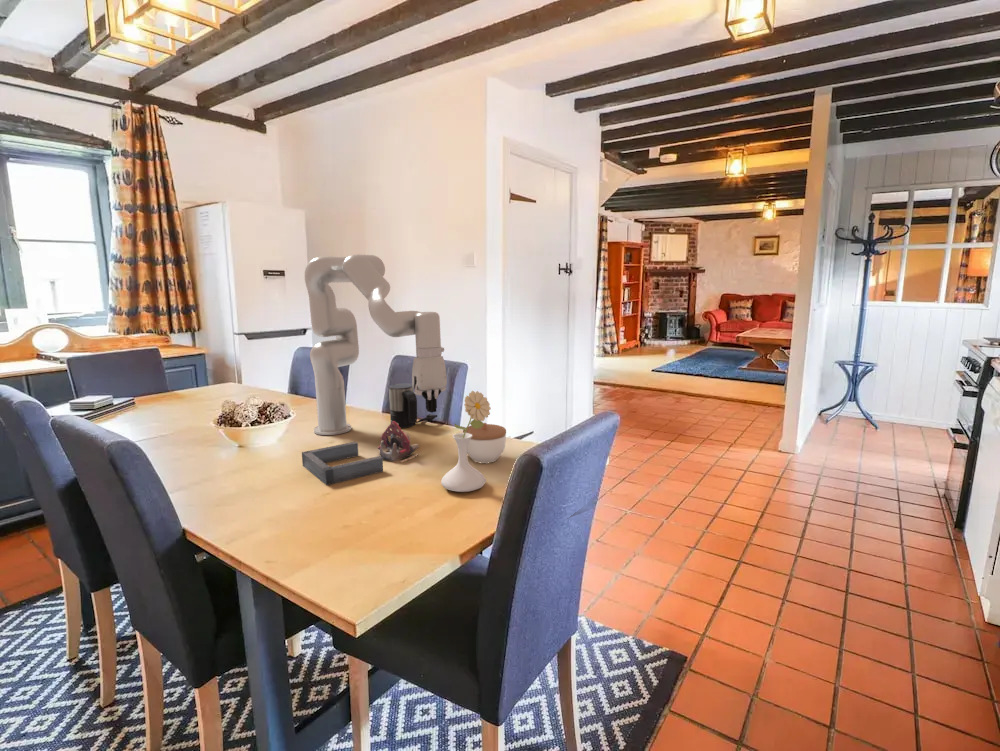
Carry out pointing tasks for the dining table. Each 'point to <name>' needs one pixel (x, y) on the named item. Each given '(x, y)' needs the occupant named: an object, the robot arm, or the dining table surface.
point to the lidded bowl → (486, 442)
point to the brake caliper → (396, 444)
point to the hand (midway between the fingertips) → (431, 411)
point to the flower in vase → (463, 472)
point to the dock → (343, 472)
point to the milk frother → (404, 405)
